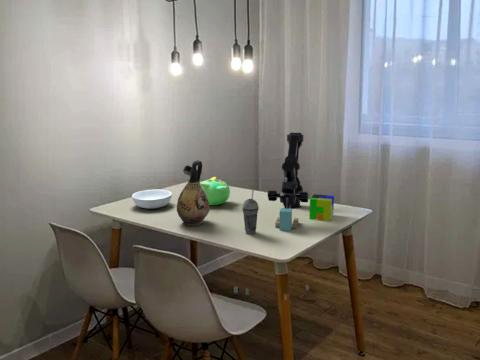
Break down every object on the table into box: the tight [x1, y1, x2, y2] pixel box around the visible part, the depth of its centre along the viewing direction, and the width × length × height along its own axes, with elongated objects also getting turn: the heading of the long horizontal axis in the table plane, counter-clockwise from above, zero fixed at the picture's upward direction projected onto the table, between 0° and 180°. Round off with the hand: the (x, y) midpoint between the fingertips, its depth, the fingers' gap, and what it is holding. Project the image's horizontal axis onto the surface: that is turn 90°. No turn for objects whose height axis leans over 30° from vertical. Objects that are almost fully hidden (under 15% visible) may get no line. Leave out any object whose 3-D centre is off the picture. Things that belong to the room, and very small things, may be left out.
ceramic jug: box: [176, 159, 210, 227], centre depth 226 cm, size 17×15×30 cm
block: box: [279, 207, 293, 232], centre depth 218 cm, size 5×5×9 cm
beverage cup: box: [241, 188, 260, 236], centre depth 212 cm, size 7×7×20 cm
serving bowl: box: [131, 189, 173, 210], centre depth 257 cm, size 21×21×7 cm
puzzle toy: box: [309, 193, 335, 221], centre depth 235 cm, size 10×10×10 cm
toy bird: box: [200, 176, 231, 206], centre depth 258 cm, size 18×17×15 cm
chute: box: [275, 216, 299, 229], centre depth 224 cm, size 9×10×2 cm
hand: (286, 212), depth 220 cm, fingers closed, pressing on block
